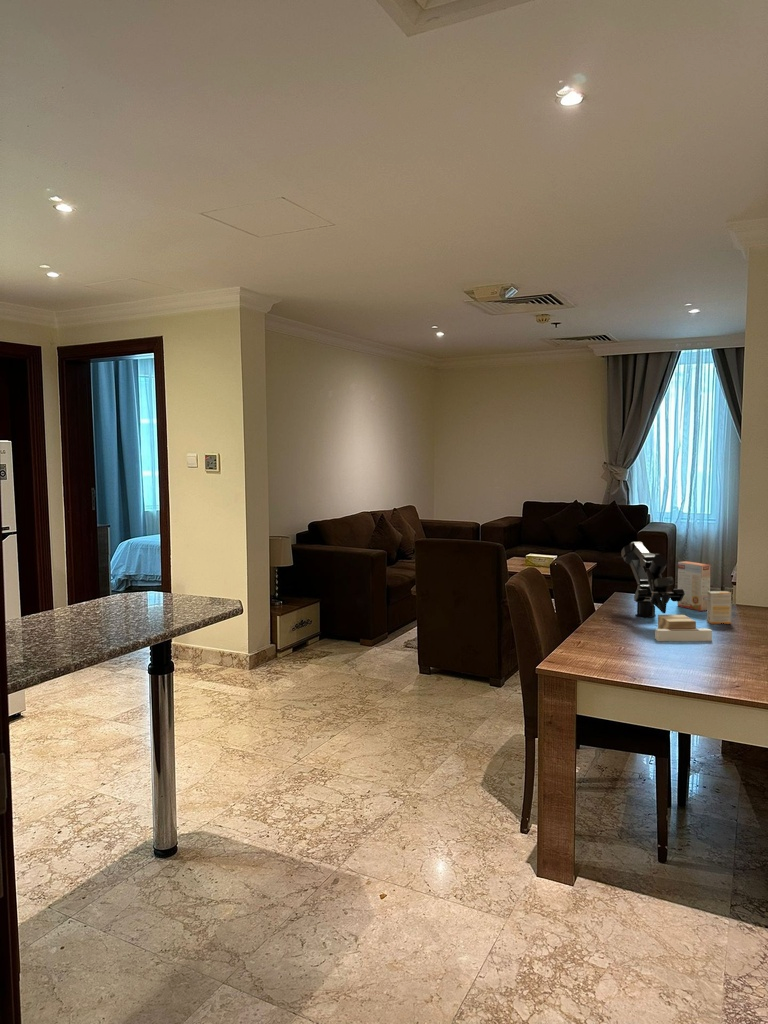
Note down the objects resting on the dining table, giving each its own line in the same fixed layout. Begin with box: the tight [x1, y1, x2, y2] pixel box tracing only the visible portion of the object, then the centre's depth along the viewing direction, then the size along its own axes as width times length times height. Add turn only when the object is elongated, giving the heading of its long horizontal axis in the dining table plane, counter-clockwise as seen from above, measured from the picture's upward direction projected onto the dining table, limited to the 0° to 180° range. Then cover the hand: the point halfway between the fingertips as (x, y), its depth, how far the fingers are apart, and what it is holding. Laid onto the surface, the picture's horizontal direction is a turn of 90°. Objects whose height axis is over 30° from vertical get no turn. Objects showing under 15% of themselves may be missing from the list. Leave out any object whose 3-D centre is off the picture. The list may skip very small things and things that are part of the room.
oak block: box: [657, 614, 697, 629], centre depth 277 cm, size 12×10×7 cm
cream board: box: [654, 627, 713, 642], centre depth 269 cm, size 3×20×4 cm, turn 88°
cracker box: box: [676, 560, 712, 612], centre depth 326 cm, size 14×6×21 cm, turn 22°
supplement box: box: [706, 590, 732, 625], centre depth 296 cm, size 8×5×13 cm, turn 84°
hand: (664, 612), depth 289 cm, fingers closed
